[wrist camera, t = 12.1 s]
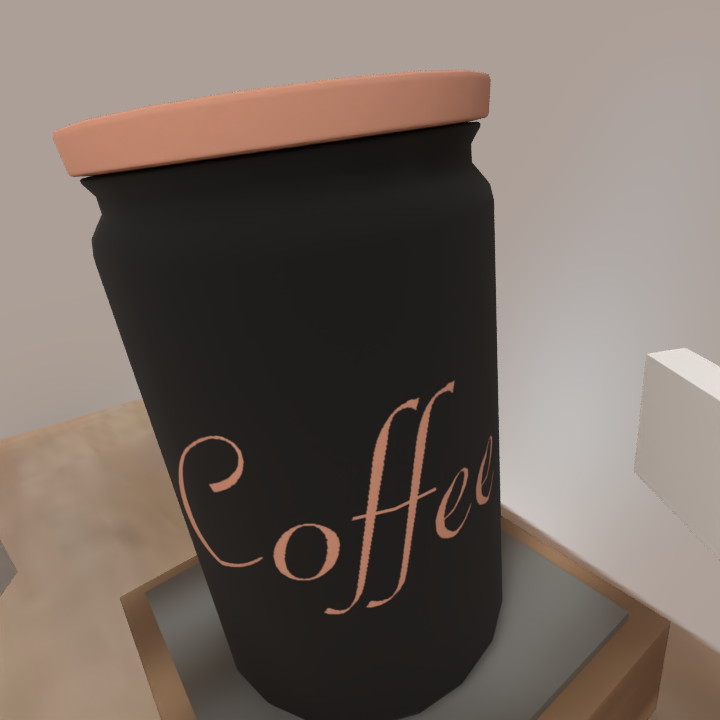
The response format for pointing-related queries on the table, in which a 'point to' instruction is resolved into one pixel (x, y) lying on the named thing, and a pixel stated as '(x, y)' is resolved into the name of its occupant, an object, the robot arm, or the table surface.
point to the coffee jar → (318, 370)
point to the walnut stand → (485, 681)
